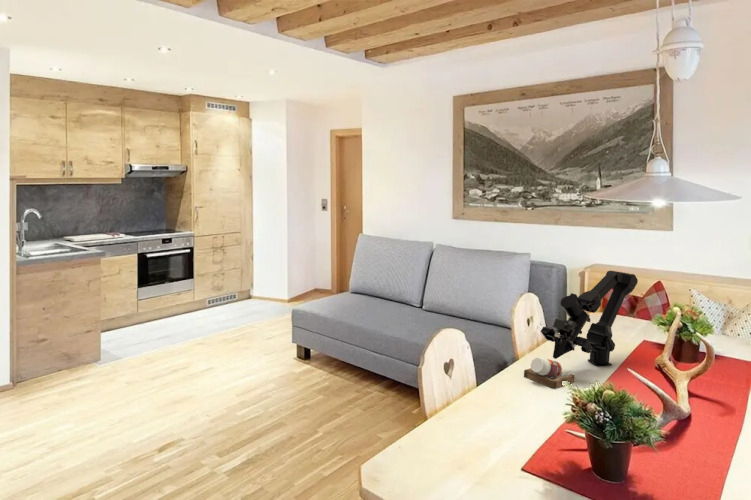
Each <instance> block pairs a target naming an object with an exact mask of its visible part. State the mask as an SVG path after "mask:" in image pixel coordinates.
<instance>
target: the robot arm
mask: <svg viewBox="0 0 751 500" xmlns="http://www.w3.org/2000/svg"><path fill="white" fill-rule="evenodd" d="M638 283H639V279H638V278H637V276H636V275H635V274H634V273H629V272H622V271H617V270H608V271H606V273H605V275H604V276H603V277H602V279H601V280H599V282H597V283H596V284H595V286H593V288H592V289H590V290H588V291H584V292H582V293H581V294H579V296H578V295H577V294H576V293H573V292H571V293H570V294H569V295H566V296H564V297H563V298H561V300H560V306H561V307H562V309H563V311H564V312H565V313H566V315H567V316H568V317H569V318H568V319H567V320H562V319H559V318H555V320H554V321H553V325H552V327H548V326H543V327H542V328H541V329H540V333H541V335H542V336H543V337H544V338H545V340H547V341H549V342H552V343H554V347H553V353H552V358H553V359H556V360H557V359H559V358H560V357H561V356H564V355H565V354H567V353H570V352H571V351H575V350H576V346H578V347H580V350H581V351H582V352H583V353H587V354H589V359H587V362H589V363H591V364H593V365H595V366H597V367H604V366H605V367H606V366H612V363H611V362H610V356H611V355H610V354H611V352H614V350H615V347H616V344H615V342H614V341H613V339H612V338H613V331H612V327H613V324H614V322H615V320H616V317H617V315H618V313H619V311H620V309H621V307H622V305H623V302H624V300H625V298H626V296H628V295H629V294H631V293H632V292H633V291H634V290H635V289H636V286H637V285H638ZM611 290H612V291H611ZM610 291H611V294H610V296H609V299H608V301H607V302H606V305H605V307H604V309H603V312H602V313H601V316H600V318H599V320H598V322H596V323H595V322H592V323H591V316H590V314H588V312H589V313H596V312H597V311H599V308H600V307H601V305H602V300H603V298H605V296H606V295H608V293H609V292H610ZM587 322H588V323H591V324H590V327H589V328H588V330H587V333H586V338H585V337H582V336H579V335H582V334H583V331H582V329H583V328H584V326H585V325H586V323H587ZM554 328H555V329H557V330H556V331H557V332H556V331H555V329H554Z"/></svg>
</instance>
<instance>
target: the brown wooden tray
mask: <svg viewBox="0 0 751 500" xmlns="http://www.w3.org/2000/svg"><path fill="white" fill-rule="evenodd" d="M523 377H524V378H526V379H529V380H530V381H531V380H532V381H534V382H536V383H539V384H541V385H543V386H545V387H548V388H551V389H553V390H554V389H558V388H560V387H561V388H562V387H564V386H563V385H562V381H568V382H570V384H573V383H575V379H576V376H575V375H574V374H573V373H569V374H566V375H563V376H561V377H560V376H559V377H557V378H550V377H547V376H542V375H539V374H538V373H536V372H534V371H533V370H532V369H531V367H530V368H528V369H523Z"/></svg>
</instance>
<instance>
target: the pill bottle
mask: <svg viewBox="0 0 751 500" xmlns="http://www.w3.org/2000/svg"><path fill="white" fill-rule="evenodd" d="M530 368H531V369H532V370H533V371H534V372H536V373H538V374H539V375H542V376H545V377H548V378H550V379H557V378H560V376H561V374H562V372H563V367H562V365H561V363H560V362H558V361H556V360H552V359H549V358H546V357H541V358H540V357H535V358H533V359H532V360H531V363H530Z"/></svg>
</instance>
